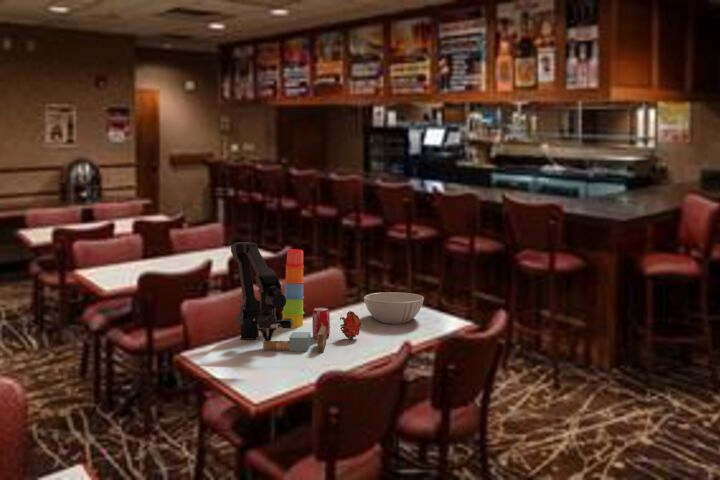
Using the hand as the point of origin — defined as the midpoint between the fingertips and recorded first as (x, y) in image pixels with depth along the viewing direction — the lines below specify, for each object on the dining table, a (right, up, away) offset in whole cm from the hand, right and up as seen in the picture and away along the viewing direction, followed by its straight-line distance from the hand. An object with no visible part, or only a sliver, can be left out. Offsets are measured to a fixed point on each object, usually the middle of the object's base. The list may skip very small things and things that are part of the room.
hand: (268, 345), depth 262 cm
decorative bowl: (+51, +3, +43) cm, 67 cm away
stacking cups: (+6, +2, +33) cm, 34 cm away
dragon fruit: (+32, 0, +14) cm, 35 cm away
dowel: (+4, +1, -1) cm, 4 cm away
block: (+12, -1, 0) cm, 12 cm away
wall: (+21, -1, -1) cm, 21 cm away
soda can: (+19, 0, +16) cm, 26 cm away
